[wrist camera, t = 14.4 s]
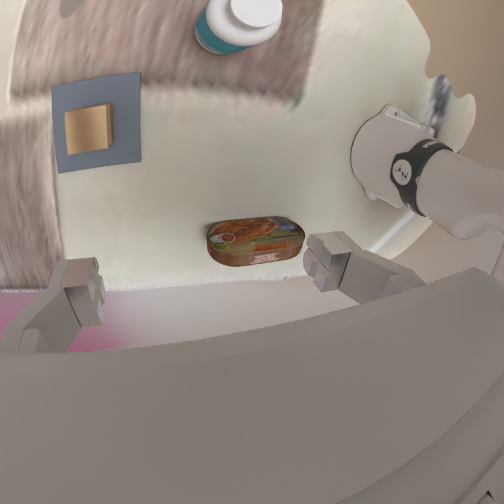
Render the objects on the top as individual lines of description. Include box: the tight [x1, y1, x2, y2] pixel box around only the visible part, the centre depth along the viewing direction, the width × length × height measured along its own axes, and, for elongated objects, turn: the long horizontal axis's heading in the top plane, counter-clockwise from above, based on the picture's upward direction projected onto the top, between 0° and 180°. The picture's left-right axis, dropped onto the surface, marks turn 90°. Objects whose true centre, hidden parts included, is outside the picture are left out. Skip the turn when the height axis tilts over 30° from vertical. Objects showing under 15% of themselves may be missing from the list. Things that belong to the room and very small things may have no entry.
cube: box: [65, 102, 114, 155], centre depth 26 cm, size 5×5×5 cm
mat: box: [52, 72, 141, 174], centre depth 28 cm, size 12×12×1 cm
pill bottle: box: [195, 0, 283, 54], centre depth 21 cm, size 8×7×14 cm
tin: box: [206, 217, 305, 267], centre depth 42 cm, size 15×3×8 cm, turn 85°
